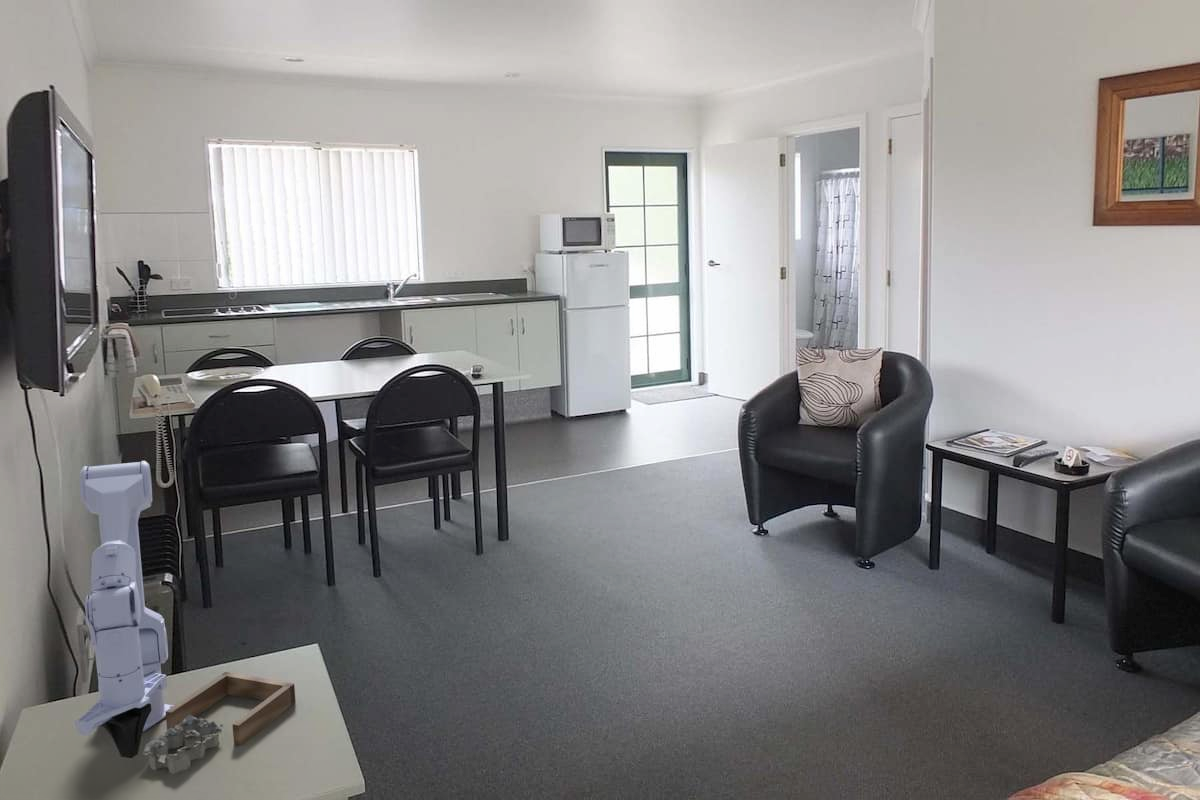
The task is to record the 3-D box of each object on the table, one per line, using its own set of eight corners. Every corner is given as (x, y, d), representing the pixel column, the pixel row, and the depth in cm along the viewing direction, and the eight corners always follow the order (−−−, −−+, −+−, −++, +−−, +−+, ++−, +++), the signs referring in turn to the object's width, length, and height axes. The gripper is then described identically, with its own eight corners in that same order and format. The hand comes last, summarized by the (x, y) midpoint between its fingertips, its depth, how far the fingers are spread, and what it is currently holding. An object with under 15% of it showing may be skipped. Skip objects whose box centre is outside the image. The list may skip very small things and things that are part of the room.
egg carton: (178, 778, 138) (176, 753, 137) (139, 768, 140) (137, 744, 140) (228, 741, 148) (226, 717, 147) (191, 732, 150) (189, 709, 150)
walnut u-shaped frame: (167, 731, 150) (165, 711, 150) (227, 690, 164) (225, 671, 163) (240, 745, 146) (238, 725, 145) (295, 702, 159) (294, 683, 159)
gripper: (100, 696, 123) (110, 788, 126) (180, 650, 137) (188, 733, 139) (60, 688, 125) (71, 779, 128) (142, 644, 139) (150, 726, 141)
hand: (129, 755), depth 134 cm, fingers closed
